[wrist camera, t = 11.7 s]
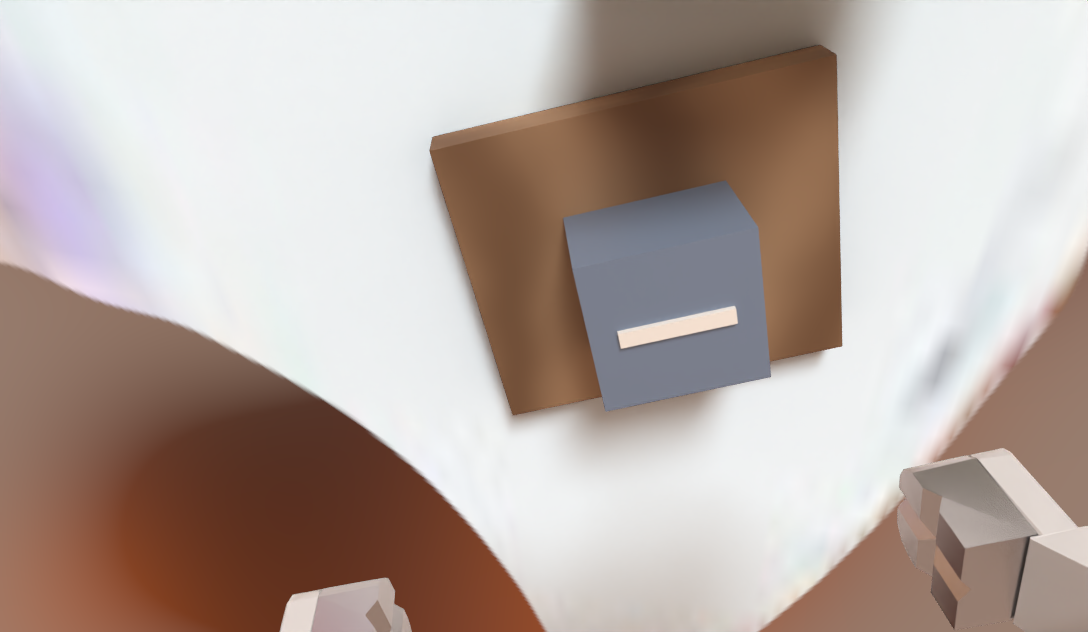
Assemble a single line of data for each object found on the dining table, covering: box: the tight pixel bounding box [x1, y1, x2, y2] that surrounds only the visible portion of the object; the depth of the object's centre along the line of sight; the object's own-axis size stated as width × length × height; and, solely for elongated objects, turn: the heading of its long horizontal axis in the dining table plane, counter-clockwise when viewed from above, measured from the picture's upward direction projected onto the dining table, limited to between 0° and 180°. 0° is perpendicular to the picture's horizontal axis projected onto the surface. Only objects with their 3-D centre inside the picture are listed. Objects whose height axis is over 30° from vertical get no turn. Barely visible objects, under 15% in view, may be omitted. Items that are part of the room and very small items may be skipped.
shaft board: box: [430, 45, 842, 415], centre depth 28 cm, size 14×12×4 cm
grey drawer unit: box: [563, 181, 771, 411], centre depth 27 cm, size 6×6×4 cm
